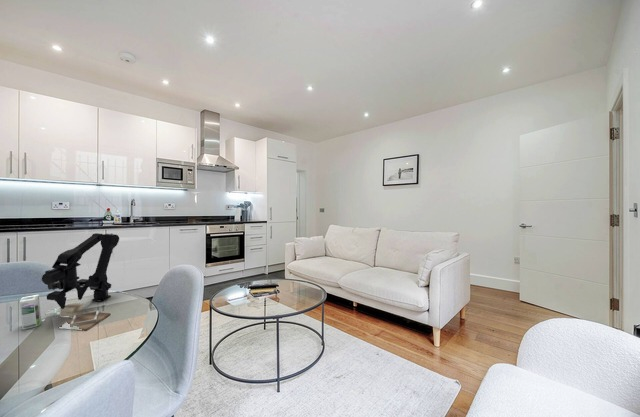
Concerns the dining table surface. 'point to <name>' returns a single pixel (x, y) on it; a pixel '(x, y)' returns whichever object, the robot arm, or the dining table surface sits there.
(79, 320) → the socket board
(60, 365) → the dining table surface
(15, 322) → the dining table surface
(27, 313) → the syrup box
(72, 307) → the ash block
